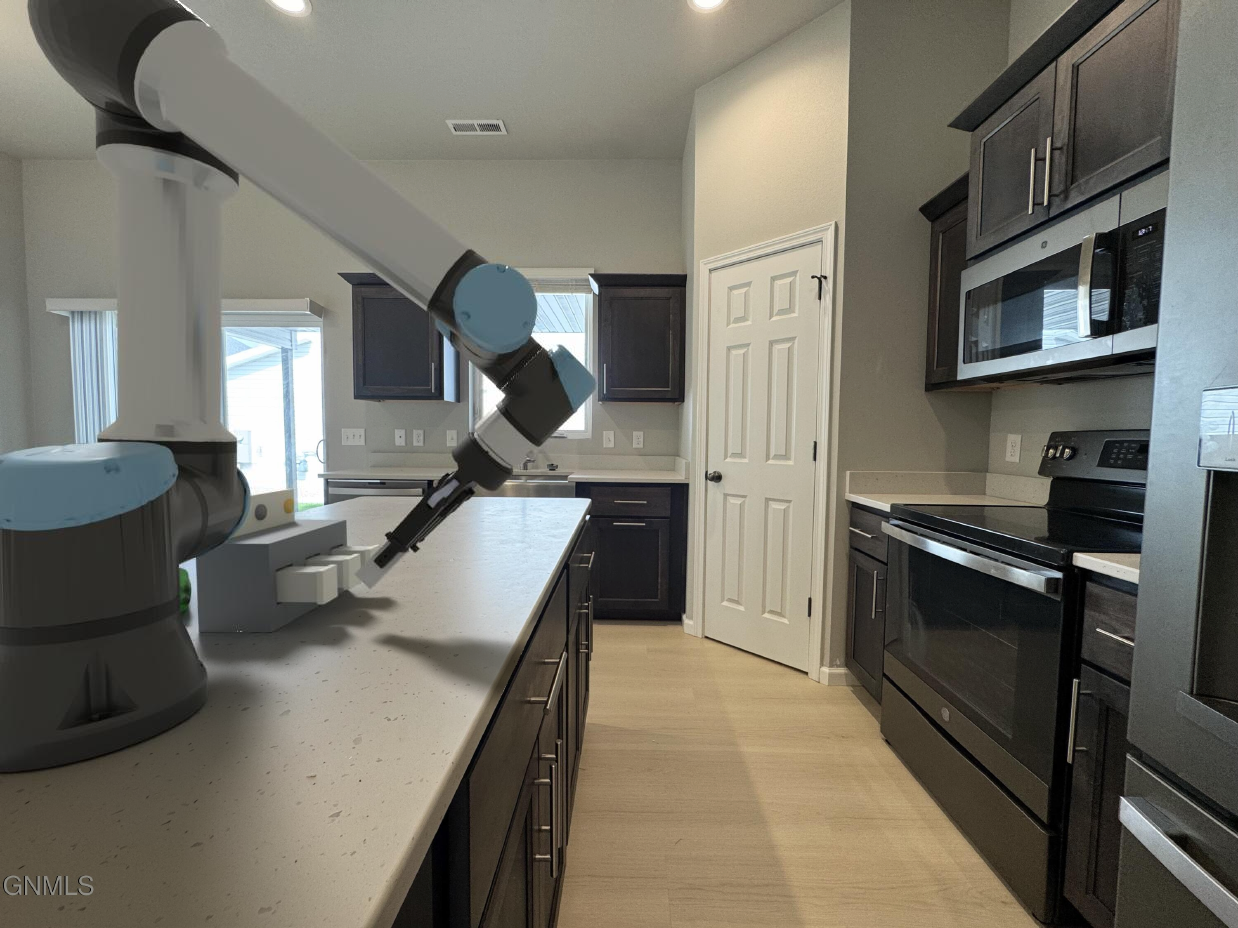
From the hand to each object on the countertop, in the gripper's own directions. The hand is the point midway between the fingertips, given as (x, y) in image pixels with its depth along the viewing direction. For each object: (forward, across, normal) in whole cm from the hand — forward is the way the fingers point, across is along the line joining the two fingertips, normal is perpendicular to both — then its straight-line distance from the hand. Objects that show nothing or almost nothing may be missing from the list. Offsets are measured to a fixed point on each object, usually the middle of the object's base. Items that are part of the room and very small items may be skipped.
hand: (364, 579), depth 71 cm
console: (+14, +6, +6) cm, 17 cm away
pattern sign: (+9, +6, +16) cm, 19 cm away
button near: (+8, 0, +4) cm, 9 cm away
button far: (+8, +13, +4) cm, 15 cm away
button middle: (+8, +6, +4) cm, 11 cm away
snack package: (+26, +5, +17) cm, 32 cm away
